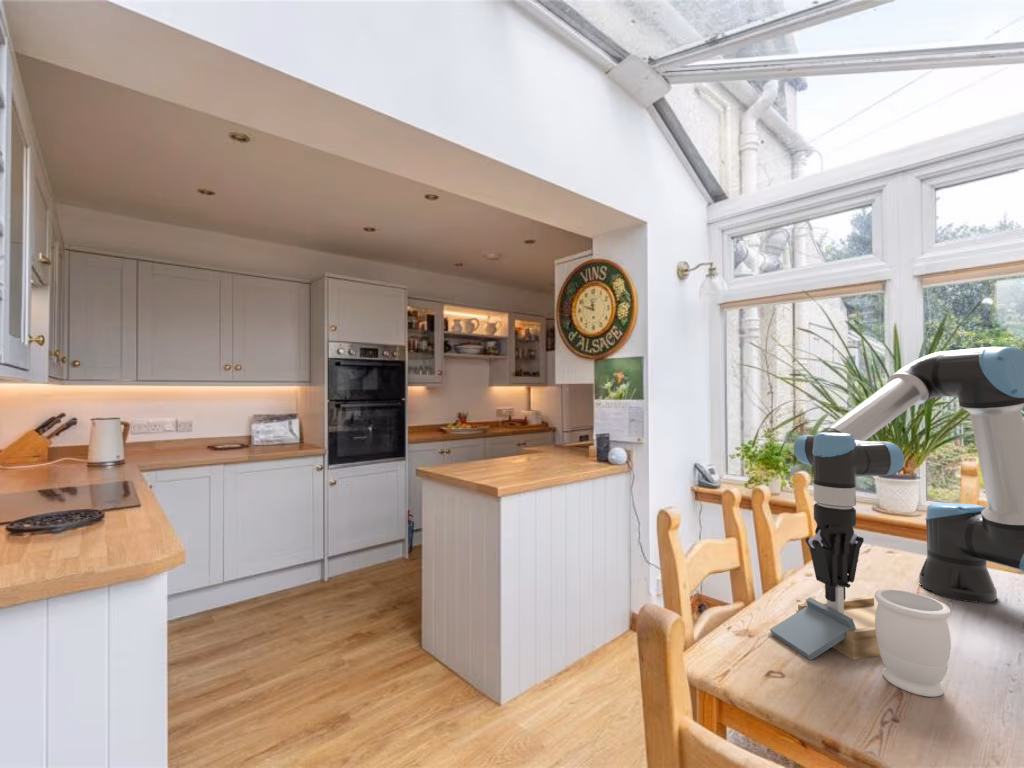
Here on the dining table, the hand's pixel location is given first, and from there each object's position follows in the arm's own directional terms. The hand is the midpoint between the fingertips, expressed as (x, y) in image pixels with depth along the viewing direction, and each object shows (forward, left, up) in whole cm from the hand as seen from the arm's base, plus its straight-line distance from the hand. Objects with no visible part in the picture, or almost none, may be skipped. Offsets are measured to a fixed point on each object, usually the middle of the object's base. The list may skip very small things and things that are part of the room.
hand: (835, 615), depth 101 cm
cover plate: (+6, 0, -3) cm, 7 cm away
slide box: (-7, 0, -5) cm, 8 cm away
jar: (0, +16, -5) cm, 17 cm away
